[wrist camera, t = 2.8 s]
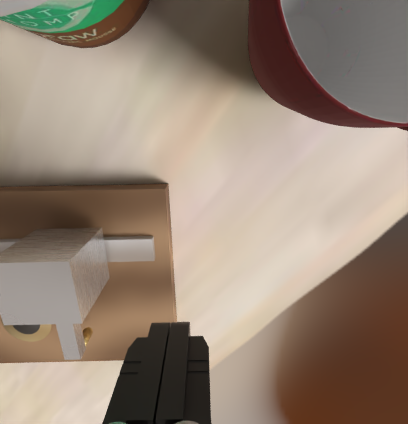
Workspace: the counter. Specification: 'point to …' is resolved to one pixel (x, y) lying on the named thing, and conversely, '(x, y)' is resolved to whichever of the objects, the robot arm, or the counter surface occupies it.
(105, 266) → the leg
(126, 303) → the hole board
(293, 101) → the mug
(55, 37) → the food container
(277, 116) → the counter surface
